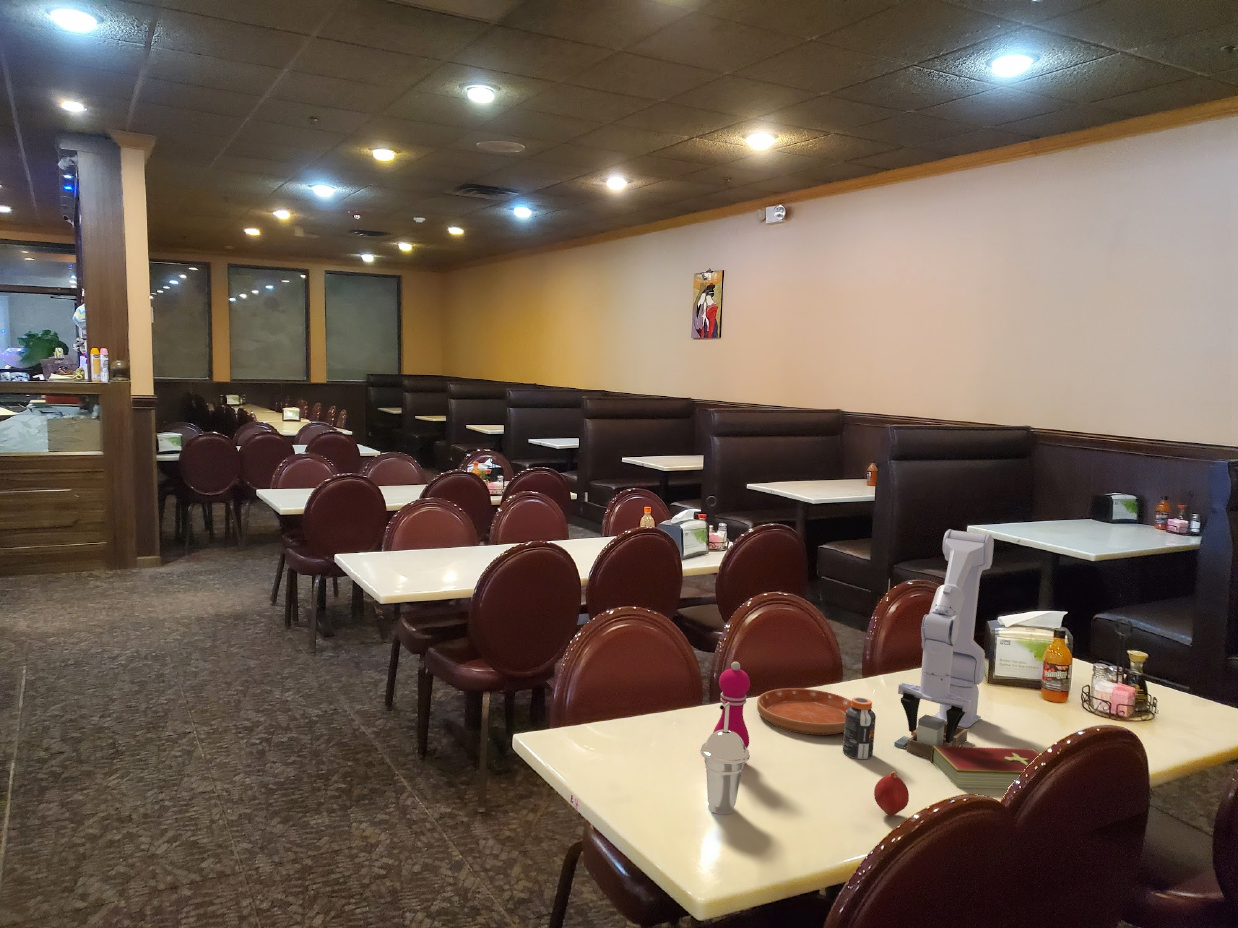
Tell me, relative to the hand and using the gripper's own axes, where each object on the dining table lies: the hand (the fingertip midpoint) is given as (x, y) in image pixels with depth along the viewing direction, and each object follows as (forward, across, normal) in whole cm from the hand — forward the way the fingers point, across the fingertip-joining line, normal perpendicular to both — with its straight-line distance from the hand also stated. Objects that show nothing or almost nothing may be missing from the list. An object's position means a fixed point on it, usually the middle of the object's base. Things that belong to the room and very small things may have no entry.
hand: (930, 735), depth 186 cm
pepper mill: (+4, -26, -36) cm, 44 cm away
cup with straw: (+4, -16, -54) cm, 56 cm away
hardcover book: (+4, +14, -2) cm, 15 cm away
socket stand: (+3, -2, +5) cm, 6 cm away
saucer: (+4, -27, -3) cm, 27 cm away
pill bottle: (+4, -10, -12) cm, 16 cm away
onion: (+4, +6, -34) cm, 34 cm away
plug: (+3, 0, 0) cm, 4 cm away
